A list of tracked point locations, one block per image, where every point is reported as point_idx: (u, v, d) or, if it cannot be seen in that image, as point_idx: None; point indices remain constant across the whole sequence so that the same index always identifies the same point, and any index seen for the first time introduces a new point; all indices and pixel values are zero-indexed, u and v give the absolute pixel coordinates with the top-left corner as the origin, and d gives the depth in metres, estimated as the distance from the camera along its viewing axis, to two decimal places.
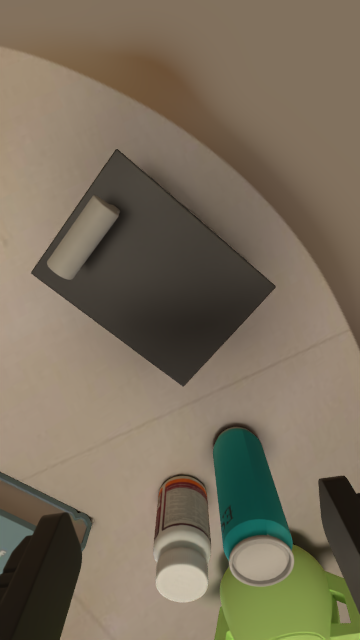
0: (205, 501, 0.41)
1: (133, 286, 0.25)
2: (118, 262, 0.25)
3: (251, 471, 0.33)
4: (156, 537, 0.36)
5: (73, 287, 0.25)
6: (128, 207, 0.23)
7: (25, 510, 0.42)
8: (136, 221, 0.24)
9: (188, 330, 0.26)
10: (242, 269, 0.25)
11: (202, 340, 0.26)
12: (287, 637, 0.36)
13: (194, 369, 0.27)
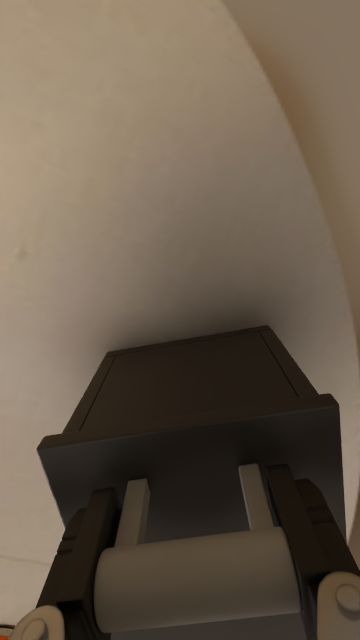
0: None
1: None
2: (188, 529, 0.13)
3: None
4: None
5: None
6: None
7: None
8: None
9: None
10: None
11: None
12: None
13: None
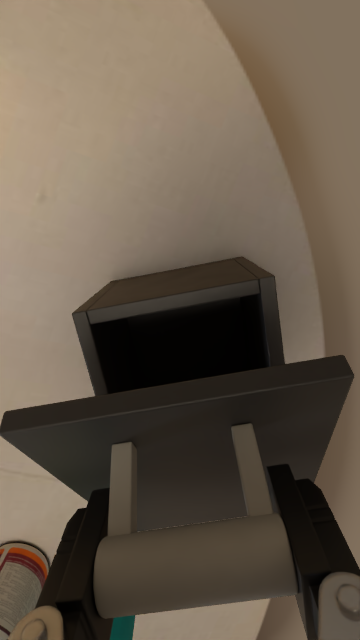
0: None
1: (168, 482, 0.15)
2: (177, 463, 0.13)
3: (119, 627, 0.27)
4: None
5: (73, 464, 0.12)
6: (267, 431, 0.12)
7: None
8: None
9: (186, 512, 0.19)
10: None
11: (190, 518, 0.20)
12: None
13: (156, 527, 0.21)
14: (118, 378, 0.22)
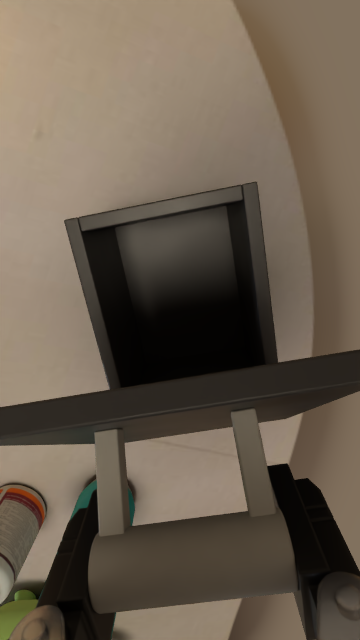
0: (37, 532, 0.34)
1: (158, 430, 0.14)
2: (167, 426, 0.12)
3: None
4: None
5: (53, 440, 0.11)
6: (269, 407, 0.11)
7: None
8: None
9: (175, 433, 0.19)
10: (283, 417, 0.19)
11: (179, 433, 0.20)
12: None
13: (145, 439, 0.22)
14: (110, 298, 0.23)
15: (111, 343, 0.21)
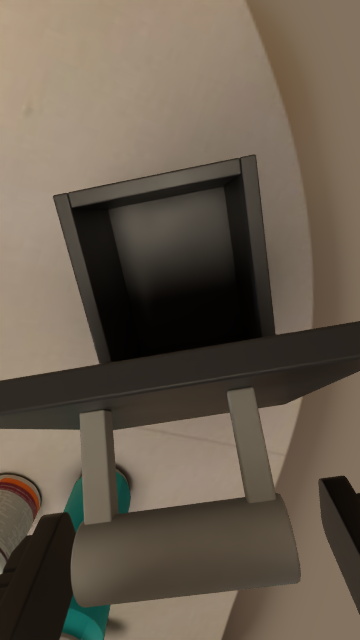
0: (31, 522, 0.34)
1: (150, 414, 0.13)
2: (160, 408, 0.12)
3: None
4: None
5: (36, 423, 0.10)
6: (268, 386, 0.10)
7: None
8: None
9: (169, 419, 0.18)
10: (282, 402, 0.18)
11: (174, 419, 0.20)
12: None
13: (140, 425, 0.21)
14: (103, 280, 0.22)
15: (103, 326, 0.20)
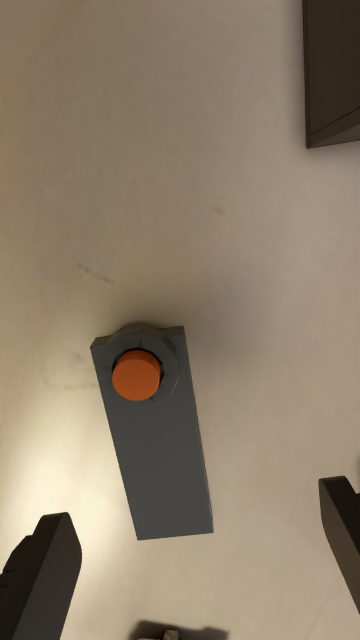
0: None
1: None
2: None
3: None
4: None
5: None
6: None
7: None
8: None
9: None
10: None
11: None
12: None
13: None
14: None
15: None
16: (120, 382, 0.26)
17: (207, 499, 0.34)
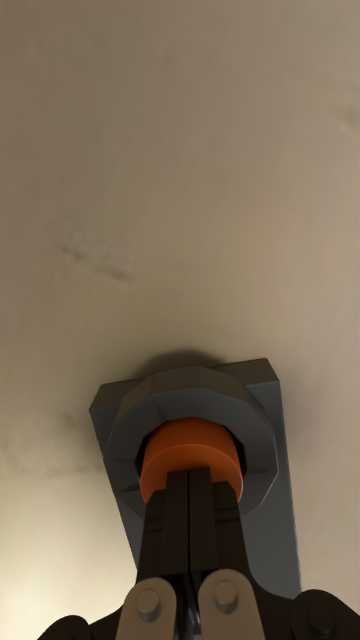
0: None
1: None
2: None
3: None
4: None
5: None
6: None
7: None
8: None
9: None
10: None
11: None
12: None
13: None
14: None
15: None
16: None
17: None
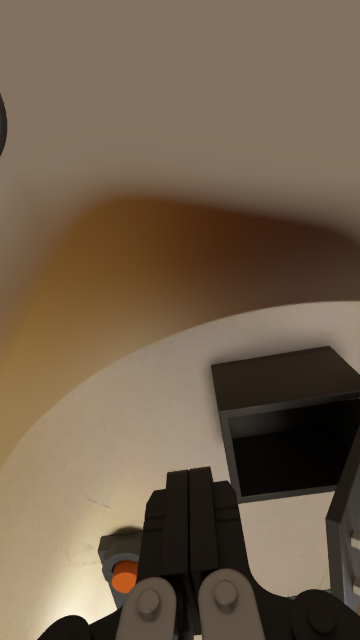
0: None
1: None
2: None
3: None
4: None
5: (357, 595, 0.23)
6: (353, 519, 0.21)
7: None
8: (357, 512, 0.22)
9: None
10: None
11: None
12: None
13: None
14: (279, 471, 0.36)
15: (310, 486, 0.33)
16: (116, 584, 0.43)
17: None
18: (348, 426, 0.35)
